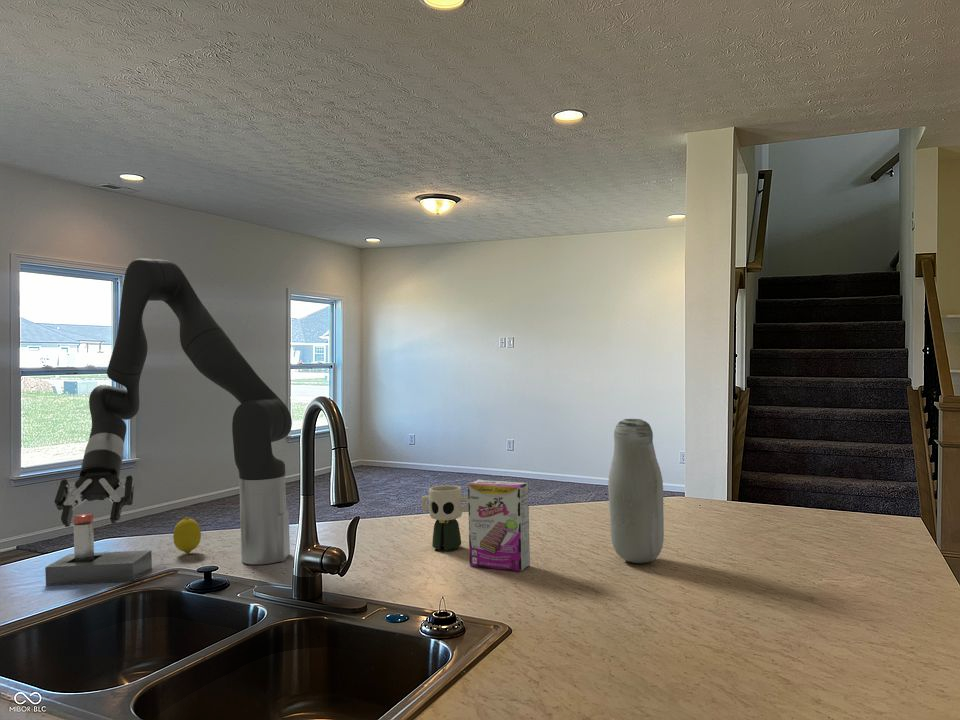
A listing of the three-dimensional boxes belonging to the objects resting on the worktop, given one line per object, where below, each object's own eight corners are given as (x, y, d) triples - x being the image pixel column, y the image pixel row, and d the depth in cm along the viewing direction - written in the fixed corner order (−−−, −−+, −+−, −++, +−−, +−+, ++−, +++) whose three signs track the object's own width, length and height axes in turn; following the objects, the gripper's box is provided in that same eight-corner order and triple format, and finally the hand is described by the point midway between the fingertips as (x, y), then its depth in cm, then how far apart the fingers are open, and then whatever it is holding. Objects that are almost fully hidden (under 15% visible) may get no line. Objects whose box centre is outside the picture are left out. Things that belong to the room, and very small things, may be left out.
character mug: (417, 551, 152) (415, 490, 152) (428, 542, 159) (426, 484, 159) (466, 554, 149) (464, 491, 149) (475, 545, 156) (474, 485, 156)
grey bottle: (672, 559, 141) (669, 417, 141) (646, 572, 134) (642, 422, 133) (629, 551, 148) (625, 415, 148) (601, 562, 140) (597, 419, 140)
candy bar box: (468, 567, 140) (466, 483, 140) (479, 560, 144) (477, 479, 144) (521, 573, 135) (519, 486, 135) (531, 565, 140) (529, 481, 140)
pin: (98, 573, 142) (96, 513, 142) (89, 579, 139) (88, 517, 139) (80, 574, 142) (78, 514, 142) (71, 580, 138) (69, 517, 138)
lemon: (191, 557, 152) (190, 520, 152) (168, 557, 153) (167, 519, 153) (206, 550, 157) (205, 514, 157) (184, 550, 158) (182, 513, 158)
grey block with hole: (151, 567, 146) (151, 550, 146) (133, 581, 136) (132, 563, 136) (70, 571, 144) (69, 553, 144) (45, 585, 135) (45, 567, 135)
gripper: (62, 449, 152) (45, 515, 141) (135, 446, 155) (124, 509, 144) (70, 471, 157) (55, 536, 146) (141, 467, 160) (131, 530, 149)
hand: (89, 523), depth 145 cm, fingers open, 8 cm apart
